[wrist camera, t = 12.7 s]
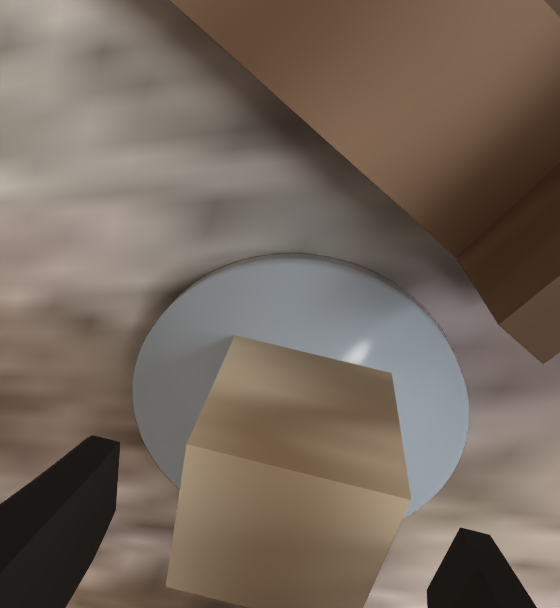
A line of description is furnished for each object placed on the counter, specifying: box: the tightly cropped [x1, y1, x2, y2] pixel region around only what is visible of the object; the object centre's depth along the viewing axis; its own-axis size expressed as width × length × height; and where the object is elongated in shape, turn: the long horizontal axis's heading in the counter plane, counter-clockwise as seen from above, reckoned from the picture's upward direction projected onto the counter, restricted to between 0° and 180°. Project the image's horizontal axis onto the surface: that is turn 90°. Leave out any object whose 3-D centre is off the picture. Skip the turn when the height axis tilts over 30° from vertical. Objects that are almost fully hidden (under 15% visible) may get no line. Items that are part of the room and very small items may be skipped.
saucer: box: [132, 254, 469, 519], centre depth 13 cm, size 9×9×1 cm
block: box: [166, 335, 411, 608], centre depth 11 cm, size 4×4×4 cm
